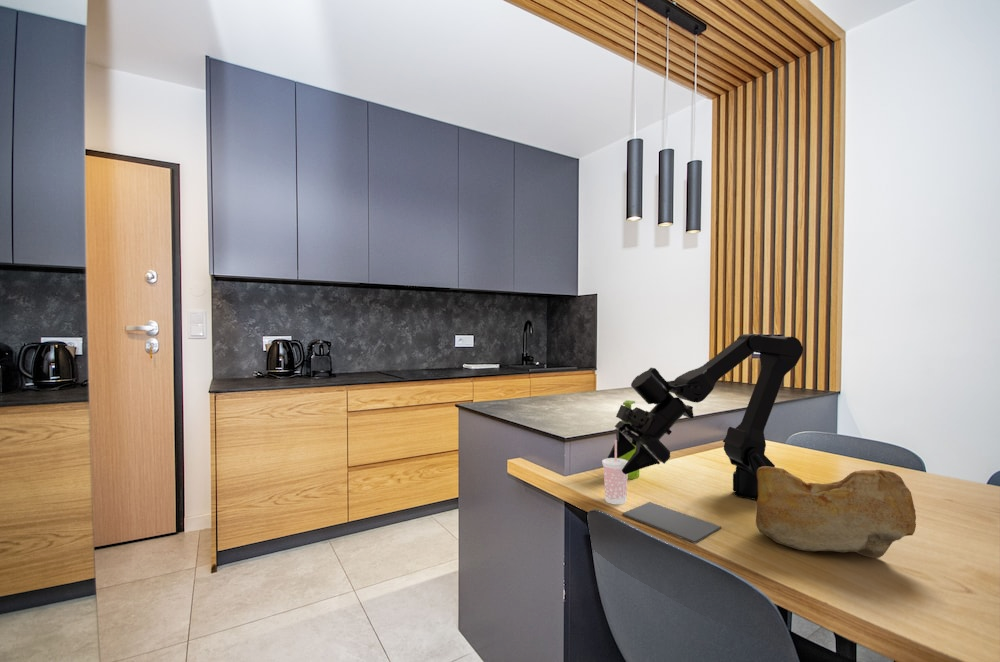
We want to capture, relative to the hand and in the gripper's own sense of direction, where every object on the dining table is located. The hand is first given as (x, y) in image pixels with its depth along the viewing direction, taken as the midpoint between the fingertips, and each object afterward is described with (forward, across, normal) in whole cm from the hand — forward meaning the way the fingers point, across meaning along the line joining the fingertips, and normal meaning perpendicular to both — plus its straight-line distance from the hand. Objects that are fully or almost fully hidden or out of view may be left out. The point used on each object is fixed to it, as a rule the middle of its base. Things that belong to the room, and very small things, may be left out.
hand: (615, 466), depth 102 cm
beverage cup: (+6, 0, +6) cm, 8 cm away
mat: (0, +12, +10) cm, 16 cm away
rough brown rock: (-17, +23, +28) cm, 40 cm away
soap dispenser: (-2, -17, +13) cm, 22 cm away
